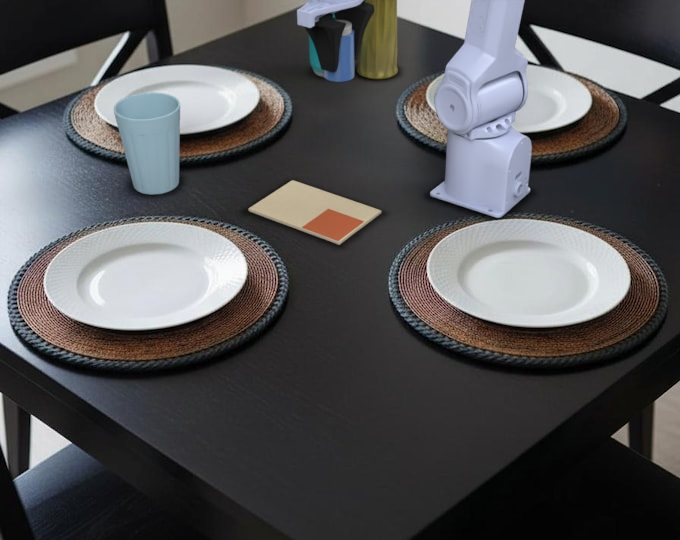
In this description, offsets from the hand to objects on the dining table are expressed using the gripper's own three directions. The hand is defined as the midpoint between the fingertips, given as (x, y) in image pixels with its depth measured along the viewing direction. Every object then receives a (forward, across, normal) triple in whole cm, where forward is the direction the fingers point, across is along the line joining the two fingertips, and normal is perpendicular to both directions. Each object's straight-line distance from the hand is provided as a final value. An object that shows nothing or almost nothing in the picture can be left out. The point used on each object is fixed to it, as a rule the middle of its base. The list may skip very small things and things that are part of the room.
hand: (339, 64), depth 136 cm
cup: (+9, +26, -9) cm, 29 cm away
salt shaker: (+2, 0, 0) cm, 2 cm away
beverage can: (+9, -14, -12) cm, 21 cm away
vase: (+9, -18, -6) cm, 21 cm away
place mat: (+9, +20, +11) cm, 25 cm away
